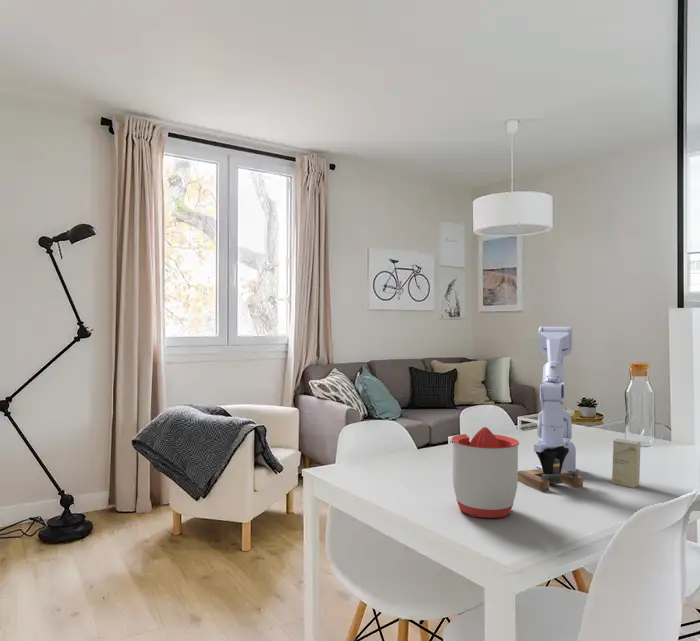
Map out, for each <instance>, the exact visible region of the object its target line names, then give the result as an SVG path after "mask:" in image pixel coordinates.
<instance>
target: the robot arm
mask: <svg viewBox="0 0 700 641" xmlns="http://www.w3.org/2000/svg"><path fill="white" fill-rule="evenodd" d="M538 346H539V351H540V354H542V355H544V356H546V359H547V362H546V363H545V364H544V365H543V366H542V367H543V368H542V380H541V382H542V383H540V385H539V400H540V409H541V411H540V412H539V413H538V415H537V418H538V419H537V429H536V430H537V437H538V439H537V442H535V443H534V444H533V452H535V453H536V455H537V457H538V459H539V462H540V464H536V465H535V467H536V468H538V469H543V473H544V474H546V475H549V474H552V473H553V464H554V460H555V458H556V459H559V460H560V467H559V474H560V473H561V470H564V471H566V472H569V473H571V472H573V471H576V472H578V469H577V468H576V465H577V464H576V461H577V459H576V458H577V457H576V454H577V453H576V452H577V450H576V446H575V443H574V442H573V441H572V440H571V439H572V437H573V433H572V431H573V429H572V427H573V426H572V425H573V424H572V416H571V414H570V412H568V411H567V410H565V408H564V403H565V402H566V385H565V384H566V383H565V366H564V365H563V363H564V361H565V358H566V356H567V357H568V355H571V353H572V349H573V347H572V346H573V328H572V326H542V325H540V326H539V327H538Z"/></svg>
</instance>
